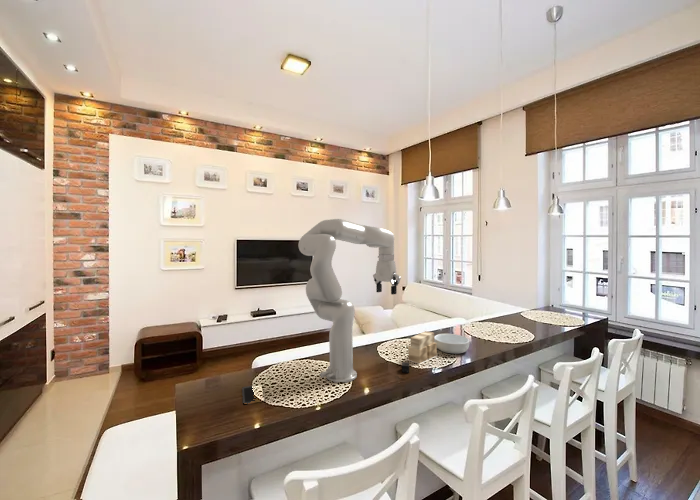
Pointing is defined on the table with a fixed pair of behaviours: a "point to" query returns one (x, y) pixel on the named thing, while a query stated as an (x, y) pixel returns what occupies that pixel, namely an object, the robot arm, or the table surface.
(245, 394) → the cell phone
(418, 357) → the pillar
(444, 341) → the cereal bowl
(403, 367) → the small black block
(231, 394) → the table surface
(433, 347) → the pillar
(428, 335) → the lintel
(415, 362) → the build board
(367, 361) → the table surface
